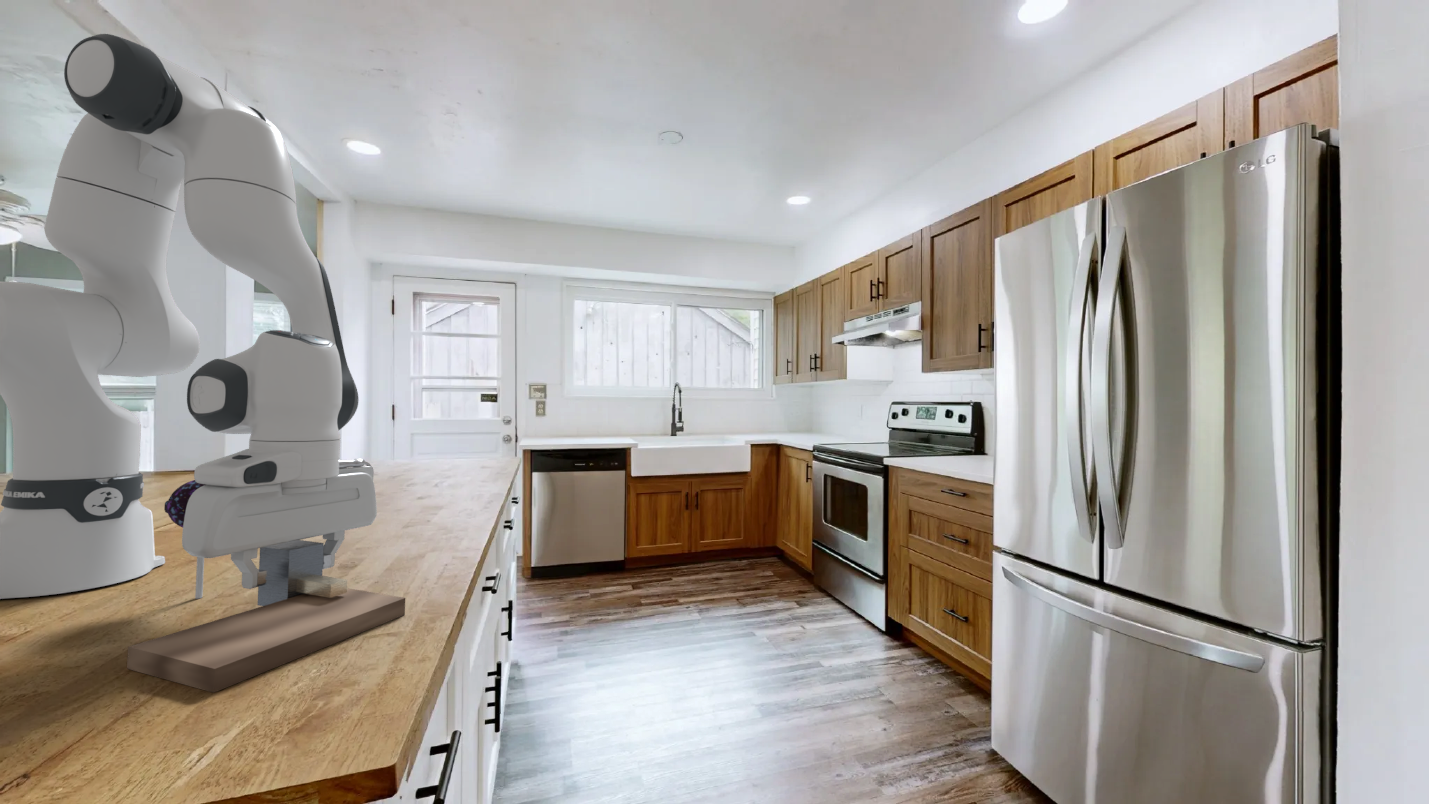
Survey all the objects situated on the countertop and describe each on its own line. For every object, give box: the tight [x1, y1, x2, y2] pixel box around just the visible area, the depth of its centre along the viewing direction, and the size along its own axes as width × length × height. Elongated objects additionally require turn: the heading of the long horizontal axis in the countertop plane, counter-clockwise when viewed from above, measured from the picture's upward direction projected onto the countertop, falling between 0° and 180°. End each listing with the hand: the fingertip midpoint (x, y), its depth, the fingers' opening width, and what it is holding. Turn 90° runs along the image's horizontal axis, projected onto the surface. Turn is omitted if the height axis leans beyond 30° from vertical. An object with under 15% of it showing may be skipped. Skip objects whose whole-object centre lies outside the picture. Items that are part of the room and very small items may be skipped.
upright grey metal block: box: [257, 539, 348, 607], centre depth 65 cm, size 10×4×7 cm, turn 72°
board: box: [126, 587, 406, 693], centre depth 57 cm, size 12×19×2 cm, turn 162°
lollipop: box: [163, 479, 206, 600], centre depth 68 cm, size 7×7×15 cm
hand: (290, 576), depth 66 cm, fingers open, 7 cm apart
